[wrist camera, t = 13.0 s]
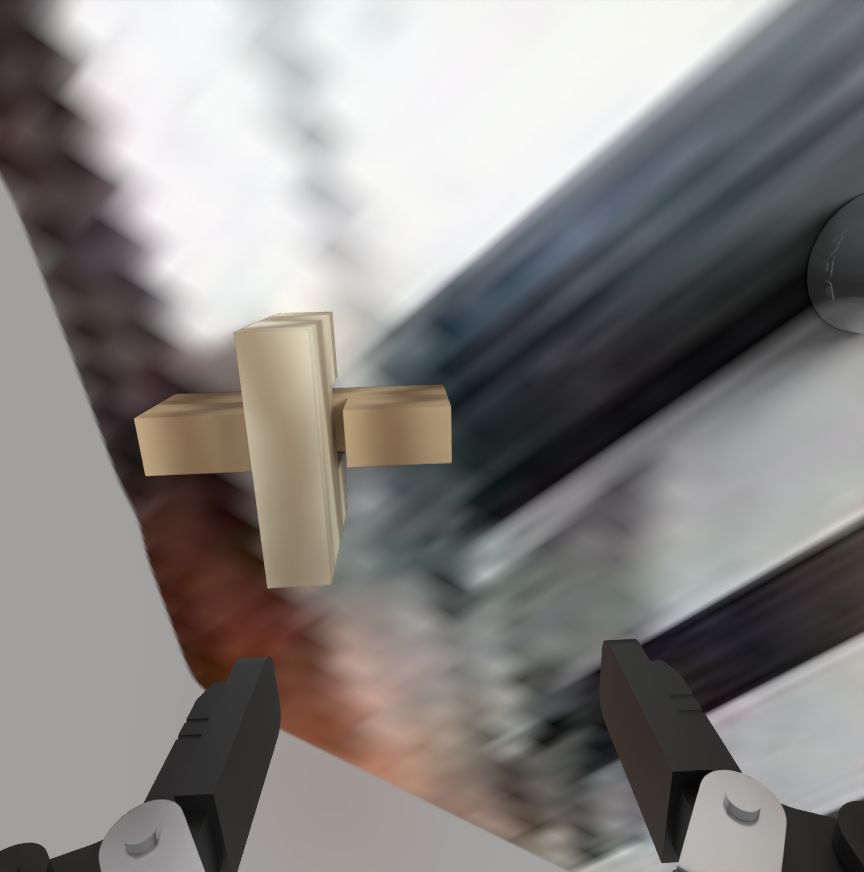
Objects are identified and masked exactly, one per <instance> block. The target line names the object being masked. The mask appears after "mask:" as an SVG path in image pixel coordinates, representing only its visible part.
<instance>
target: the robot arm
mask: <svg viewBox="0 0 864 872" xmlns="http://www.w3.org/2000/svg"><path fill="white" fill-rule="evenodd" d="M807 285H808V293H809V296H810V299H811V302H812V304H813V307H814V308H815V310H816V311H817V313H818V314H819V315H820V317H821V318H822V319H824V320H825V321H826V322H827V323H828V324H830V325H831V326H834V327H836V328H838V329H840V330H844V331H849V332H854V333H861V334H864V194H863V195H861V196H859V197H857V198H855V199H853V200H852V201H850V202H849V203H848V204H846V205H845V206H843V207H842V208H841V209H840V210H839V211H838V212H837V213H836V214H835V215H834V216H833V217H832V218H831V219H830V220H829V221H828V223H827V224H826V226H825V227H824V228H823V230H822V231H821V233H820V234H819V236H818V238H817V240H816V242H815V245H814V247H813V249H812V252H811V256H810V259H809V263H808V271H807ZM600 704H601V709H602V714H603V717H604V720H605V723H606V725H607V728H608V730H609V733H610V735H611V738H612V740H613V743H614V745H615V748H616V750H617V753H618V755H619V758H620V760H621V763H622V765H623V768H624V770H625V773H626V775H627V778H628V780H629V783H630V785H631V788H632V790H633V793H634V795H635V798H636V800H637V803H638V805H639V808H640V810H641V813H642V815H643V818H644V820H645V823H646V825H647V828H648V830H649V833H650V835H651V838H652V840H653V843H654V845H655V848H656V850H657V853H658V855H659V858H660V860H661V863H671V862H679V863H678V866H677V869H676V871H675V870H673V872H864V801H852V802H849V803H846V804H845V805H843V806H842V807H841V808H840V810H839V813H838V816H837V819H835V818H831V817H827V816H823V815H819V814H815V813H810V812H806V811H802V810H798V809H795V808H791V807H788V806H786V805H783V804H781V803H780V802H779V800H778V799H777V798H776V797H775V795H774V794H773V793H772V792H771V791H770V790H769V789H768V788H767V787H765V786H764V785H763V784H762V783H760V782H758V781H757V780H755V779H754V778H752V777H750V776H748V775H745V774H743V773H742V772H741V770H740V769H739V767H738V765H737V764H736V762H735V761H734V759H733V758H732V756H731V754H730V753H729V751H728V750H727V748H726V746H725V745H724V743H723V742H722V740H721V738H720V737H719V735H718V734H717V732H716V730H715V729H714V727H713V726H712V724H711V723H710V721H709V719H708V718H707V716H706V715H705V714H703V711H702V708H701V707H700V705H699V703H698V702H697V700H696V699H695V698H693V694H692V692H691V691H690V689H689V688H688V686H687V684H686V683H685V681H684V680H683V678H682V676H681V675H679V674H678V673H677V672H676V671H675V670H673V669H672V668H671V667H670V666H669V665H667V664H666V663H665V662H664V661H650V660H649V659H648V657H647V655H646V653H645V652H644V650H643V648H642V646H641V645H640V643H639V642H638V641H637V640H636V639H624V640H605V641H604V642H603V646H602V659H601V675H600ZM280 719H281V711H280V702H279V696H278V690H277V684H276V678H275V672H274V666H273V661H272V659H271V657H253V658H239V659H237V661H236V662H235V664H234V666H233V668H232V671H231V673H230V675H229V677H228V679H227V681H226V682H214V683H213V684H212V685H211V686H210V687H209V688H208V689H207V690H206V691H205V692H204V693H203V694H202V695H201V696H200V697H199V698H198V699H197V700H196V702H195V704H194V706H193V708H192V710H191V712H190V714H189V716H188V717H187V722H186V723H184V725H183V727H182V729H181V731H180V733H179V736H178V740H176V741H175V743H174V745H173V747H172V749H171V751H170V753H169V755H168V757H167V759H166V760H165V762H164V764H163V767H162V768H161V770H160V772H159V774H158V776H157V779H156V780H155V782H154V784H153V786H152V788H151V790H150V792H149V794H148V796H147V798H146V800H145V801H144V803H143V804H141V805H139V806H137V807H135V808H133V809H132V810H130V811H129V812H127V813H126V814H125V815H123V816H122V817H121V818H120V819H119V820H118V821H117V822H116V823H115V824H114V825H113V826H112V827H111V828H110V830H109V831H108V833H107V834H106V836H105V838H104V839H103V840H101V841H99V842H97V843H95V844H92V845H89V846H86V847H84V848H81V849H78V850H75V851H72V852H70V853H66V854H64V855H61V856H58V857H55V858H52V859H49V856H48V853H47V851H46V849H45V848H44V847H43V846H41V845H39V844H36V843H22V844H17V845H14V846H11V847H8V848H6V849H4V850H2V851H0V872H237V871H238V867H239V864H240V861H241V858H242V854H243V851H244V848H245V844H246V841H247V838H248V835H249V831H250V828H251V824H252V821H253V818H254V814H255V811H256V808H257V805H258V801H259V798H260V795H261V791H262V788H263V785H264V781H265V778H266V774H267V771H268V768H269V764H270V761H271V758H272V755H273V751H274V748H275V744H276V741H277V738H278V734H279V729H280Z"/></svg>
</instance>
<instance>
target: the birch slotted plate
mask: <svg viewBox="0 0 864 872" xmlns="http://www.w3.org/2000/svg"><path fill="white" fill-rule="evenodd" d="M234 340H235V347H236V355H237V362H238V370H239V377H240V385H241V392H242V400H243V407H244V415H245V422H246V430H247V437H248V445H249V452H250V460H251V467H252V475H253V482H254V490H255V497H256V505H257V512H258V520H259V527H260V535H261V542H262V550H263V558H264V565H265V573H266V580H267V588H281V587H300V586H319V585H331V584H332V579H333V575H334V570H335V565H336V560H337V555H338V551H339V546H340V541H341V536H342V531H343V527H344V522H345V517H346V512H347V495H346V482H345V469H344V456H343V453H337V445H336V433H335V420H334V408H333V395H332V385H333V383H334V381H335V380H336V378H337V366H336V353H335V340H334V327H333V314H332V312H311V313H278V314H276V315H273V316H271V317H268V318H266V319H264V320H261V321H259V322H257V323H254V324H252V325H250V326H247V327H245V328H242V329H240V330H238V331H235V332H234Z"/></svg>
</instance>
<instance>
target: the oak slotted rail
mask: <svg viewBox="0 0 864 872" xmlns="http://www.w3.org/2000/svg"><path fill="white" fill-rule="evenodd" d="M332 395H333V408H334V420H335V433H336V445H337V451H346V458H347V467H366V466H390V465H413V464H436V463H452V444H451V405H450V402H449V400H448V397H447V394H446V391H445V388H444V386H443V384H441V385H413V386H385V387H358V388H332ZM134 421H135V426H136V431H137V436H138V441H139V446H140V451H141V456H142V461H143V466H144V471H145V476H157V475H180V474H203V473H227V472H250V471H252V467H251V460H250V452H249V445H248V437H247V430H246V422H245V415H244V407H243V400H242V392H219V393H191V394H175V395H173V396H171V397H170V398H168V399H166V400H165V401H163V402H161V403H160V404H158V405H156V406H154V407H153V408H151V409H149V410H148V411H146V412H144V413H143V414H141V415H139V416H137V417H136V418H134Z"/></svg>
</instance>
